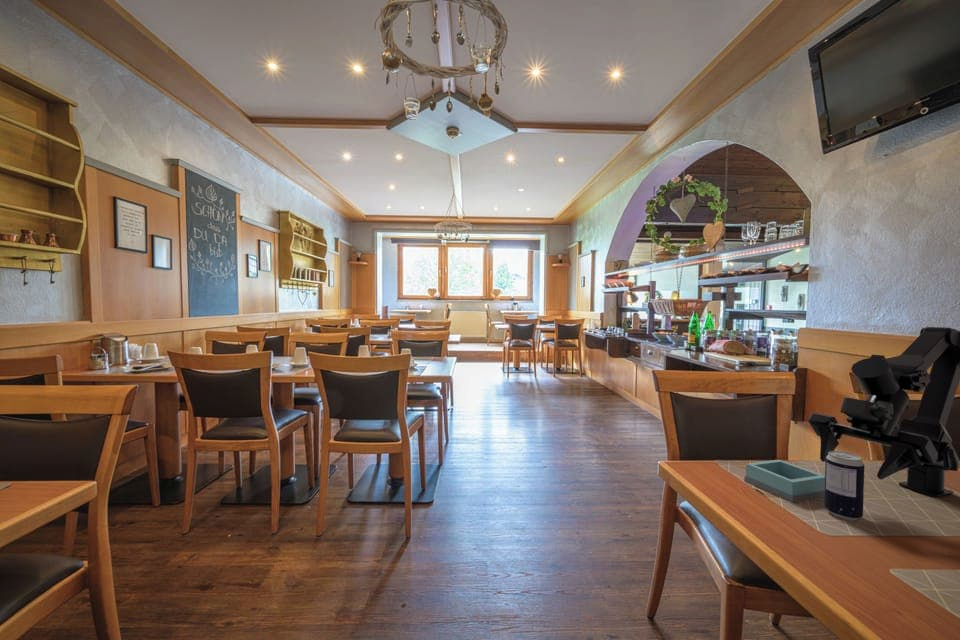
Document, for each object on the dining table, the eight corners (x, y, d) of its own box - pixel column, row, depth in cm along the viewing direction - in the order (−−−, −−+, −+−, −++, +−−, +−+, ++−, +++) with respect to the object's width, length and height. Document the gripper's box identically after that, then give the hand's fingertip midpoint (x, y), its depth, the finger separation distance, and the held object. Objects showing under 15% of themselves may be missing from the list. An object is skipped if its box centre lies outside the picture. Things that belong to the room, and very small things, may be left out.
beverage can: (870, 524, 75) (872, 461, 75) (836, 520, 76) (838, 459, 76) (849, 509, 80) (851, 451, 80) (817, 506, 82) (819, 449, 81)
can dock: (778, 476, 97) (779, 459, 97) (829, 496, 86) (829, 477, 86) (744, 480, 94) (744, 463, 94) (792, 502, 83) (792, 482, 83)
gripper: (814, 377, 89) (781, 429, 85) (932, 393, 72) (897, 460, 68) (834, 409, 92) (802, 461, 88) (952, 432, 75) (919, 498, 71)
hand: (848, 468), depth 79 cm, fingers open, 9 cm apart
